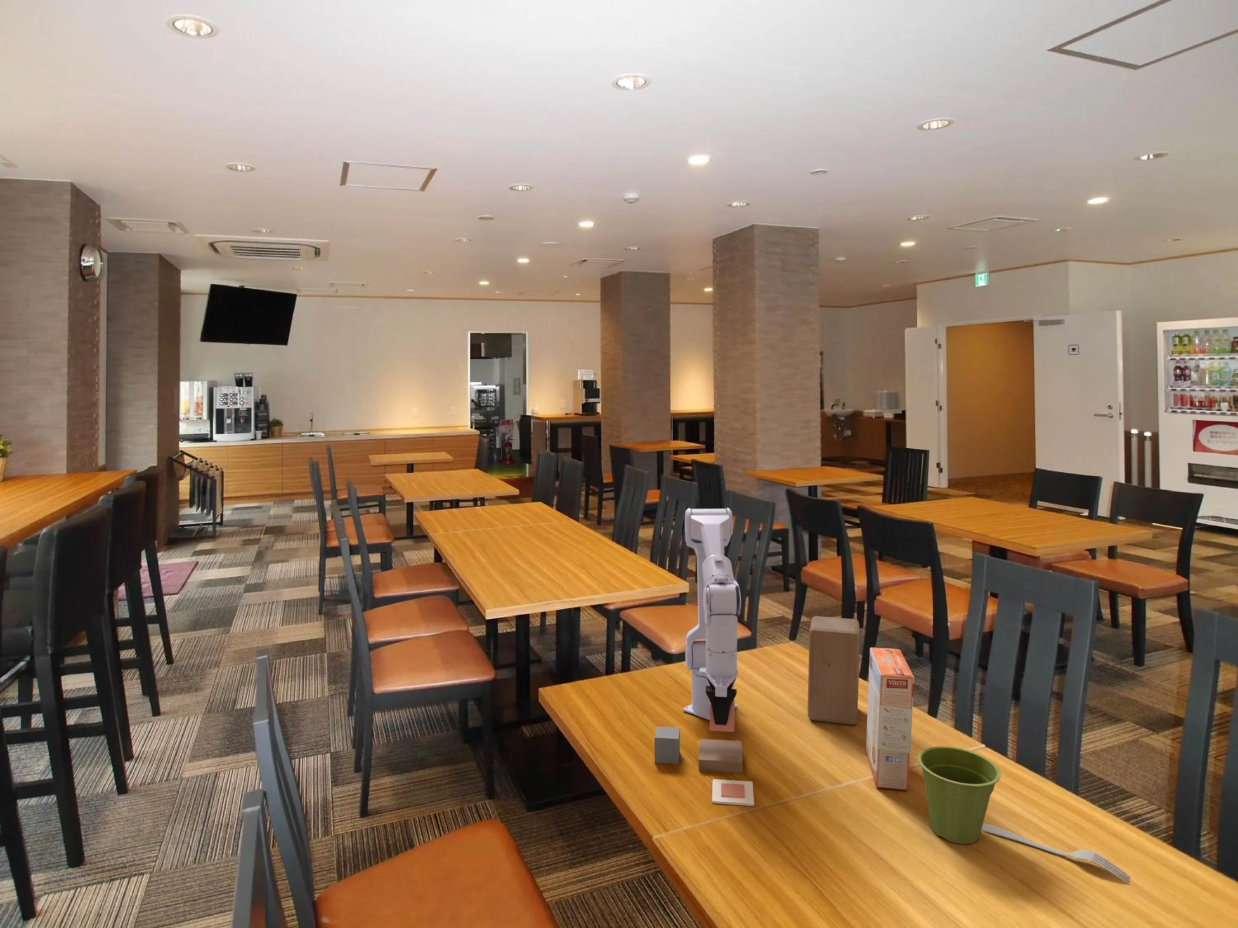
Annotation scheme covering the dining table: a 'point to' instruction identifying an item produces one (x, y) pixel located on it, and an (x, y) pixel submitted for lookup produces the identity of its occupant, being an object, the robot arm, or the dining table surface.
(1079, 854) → the fork
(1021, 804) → the dining table surface
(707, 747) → the walnut base block
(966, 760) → the plant pot
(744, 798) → the card
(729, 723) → the brick red block
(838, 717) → the wooden block
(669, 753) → the charcoal block
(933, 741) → the dining table surface
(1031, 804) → the dining table surface
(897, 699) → the cracker box
